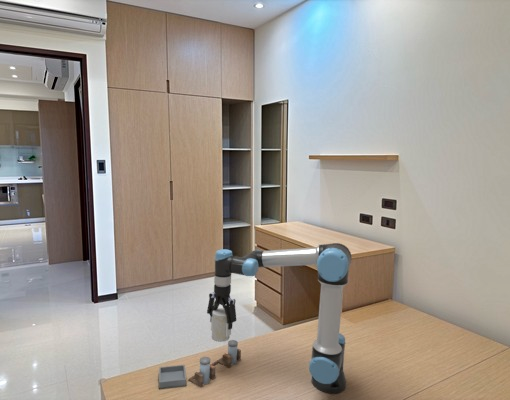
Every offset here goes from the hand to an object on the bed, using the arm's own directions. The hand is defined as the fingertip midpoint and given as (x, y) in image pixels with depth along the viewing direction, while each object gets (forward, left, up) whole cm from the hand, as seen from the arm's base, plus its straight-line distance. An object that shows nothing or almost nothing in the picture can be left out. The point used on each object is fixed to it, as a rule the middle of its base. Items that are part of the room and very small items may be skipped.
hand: (220, 332), depth 159 cm
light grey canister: (0, 0, -3) cm, 3 cm away
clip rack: (+2, 0, -19) cm, 19 cm away
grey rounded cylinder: (0, +10, -19) cm, 21 cm away
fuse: (0, -10, -19) cm, 21 cm away
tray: (+12, +18, -19) cm, 28 cm away
